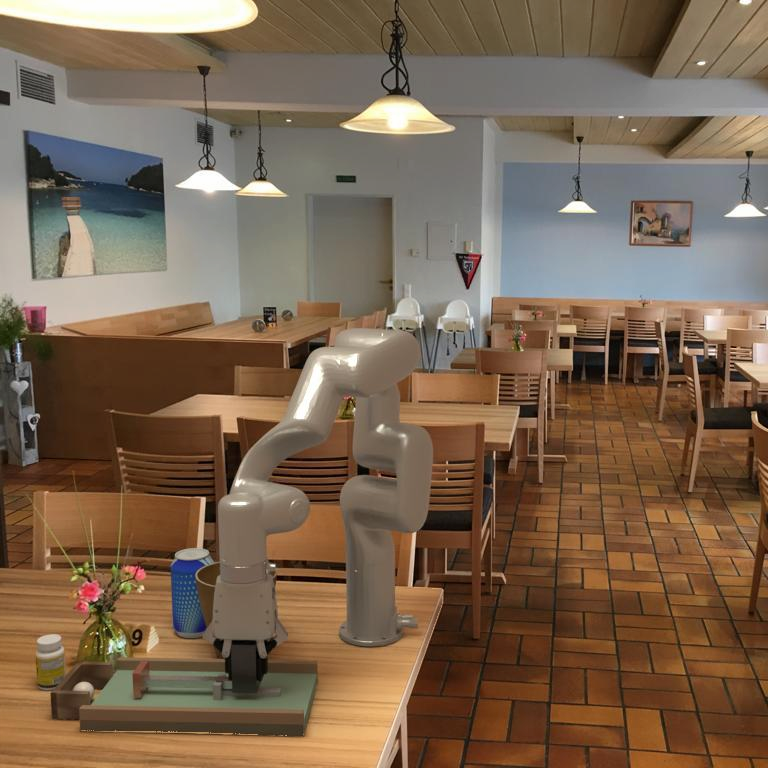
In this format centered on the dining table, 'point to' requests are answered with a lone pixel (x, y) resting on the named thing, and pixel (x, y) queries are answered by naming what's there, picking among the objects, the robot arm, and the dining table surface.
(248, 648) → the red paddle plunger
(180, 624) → the beer can
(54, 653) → the supplement bottle
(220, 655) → the plant pot
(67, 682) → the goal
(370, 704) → the dining table surface
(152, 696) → the pitch
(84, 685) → the ball
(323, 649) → the dining table surface
